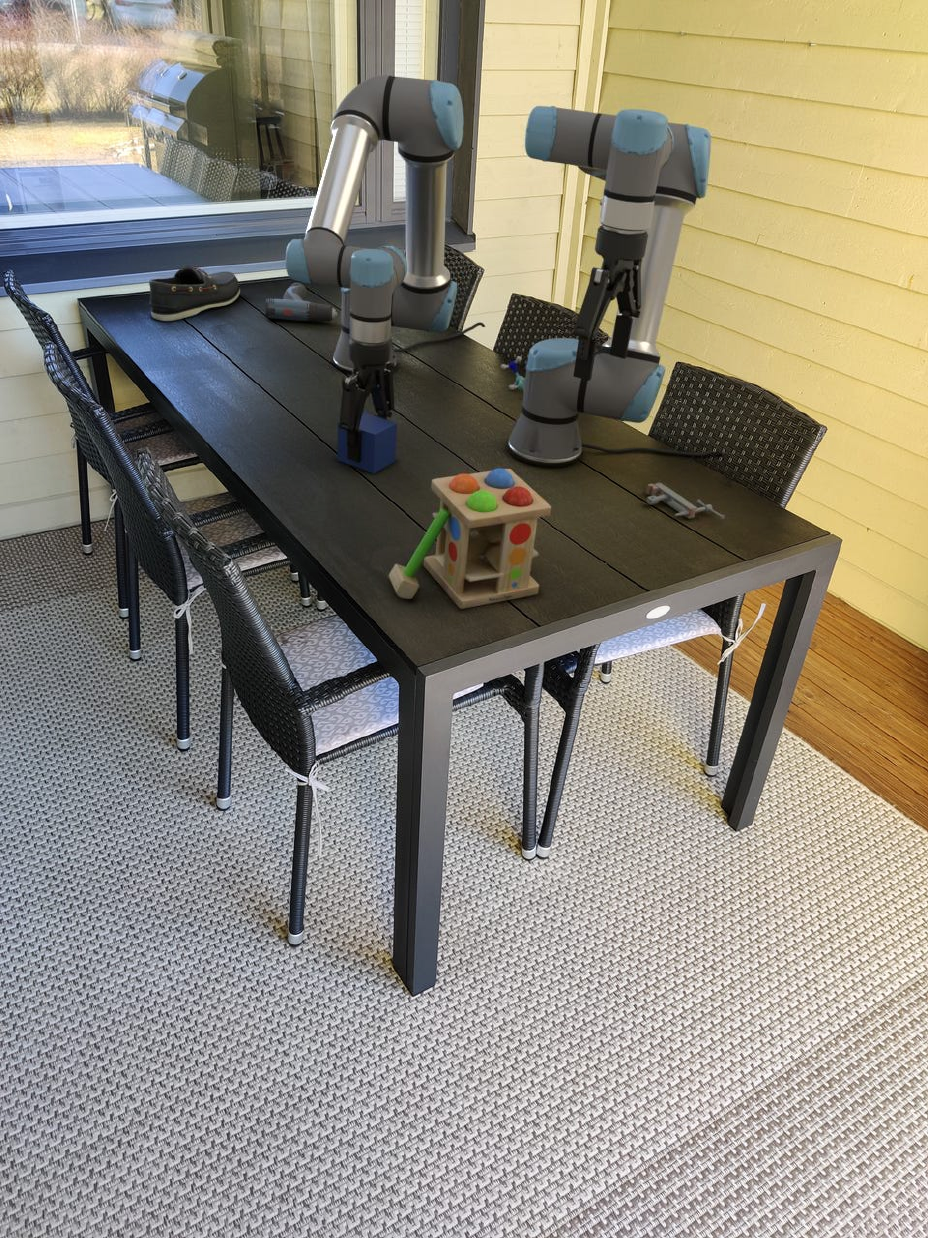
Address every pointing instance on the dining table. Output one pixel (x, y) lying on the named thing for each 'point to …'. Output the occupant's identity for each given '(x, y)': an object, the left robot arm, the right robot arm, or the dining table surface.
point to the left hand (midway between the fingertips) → (366, 453)
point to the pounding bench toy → (479, 539)
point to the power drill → (298, 307)
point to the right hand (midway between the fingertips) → (600, 367)
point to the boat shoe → (191, 293)
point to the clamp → (657, 495)
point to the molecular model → (519, 378)
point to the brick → (371, 443)
